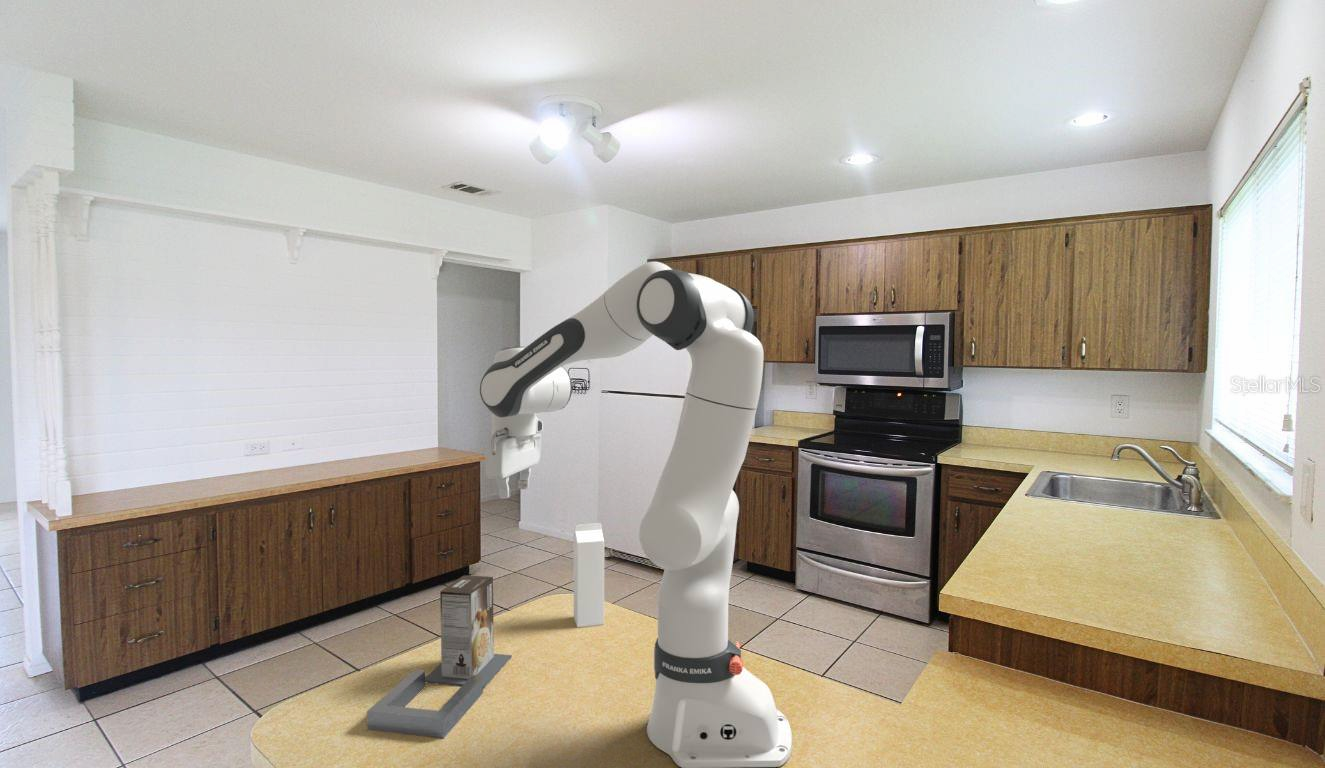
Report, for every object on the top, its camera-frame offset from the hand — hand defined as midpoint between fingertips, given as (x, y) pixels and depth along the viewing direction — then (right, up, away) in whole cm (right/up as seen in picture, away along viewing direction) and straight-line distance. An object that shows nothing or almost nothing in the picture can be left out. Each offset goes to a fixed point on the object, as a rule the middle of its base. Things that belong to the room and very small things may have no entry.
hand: (514, 493), depth 129 cm
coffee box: (-6, -31, -11) cm, 34 cm away
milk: (+14, -31, +12) cm, 36 cm away
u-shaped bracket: (-8, -32, -25) cm, 41 cm away
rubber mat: (-6, -31, -11) cm, 34 cm away
